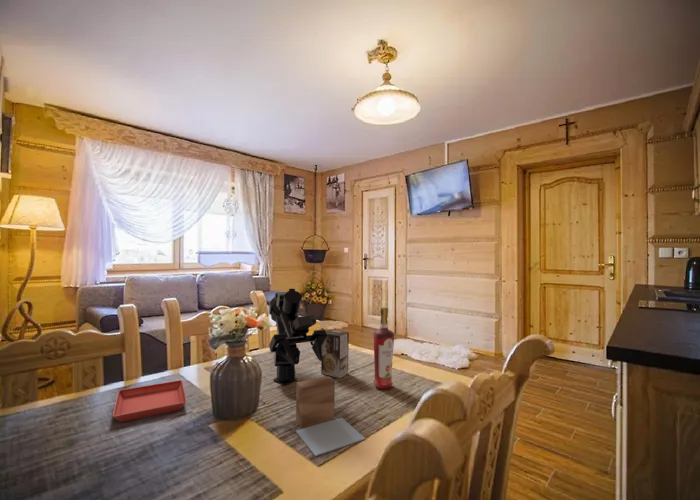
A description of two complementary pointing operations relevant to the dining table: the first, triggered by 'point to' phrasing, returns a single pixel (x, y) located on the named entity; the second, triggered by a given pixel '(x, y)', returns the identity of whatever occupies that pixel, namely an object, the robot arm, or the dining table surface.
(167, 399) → the plant saucer
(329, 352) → the coffee box
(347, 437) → the mat
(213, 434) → the dining table surface
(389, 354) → the liquor
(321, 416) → the walnut block
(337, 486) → the dining table surface
